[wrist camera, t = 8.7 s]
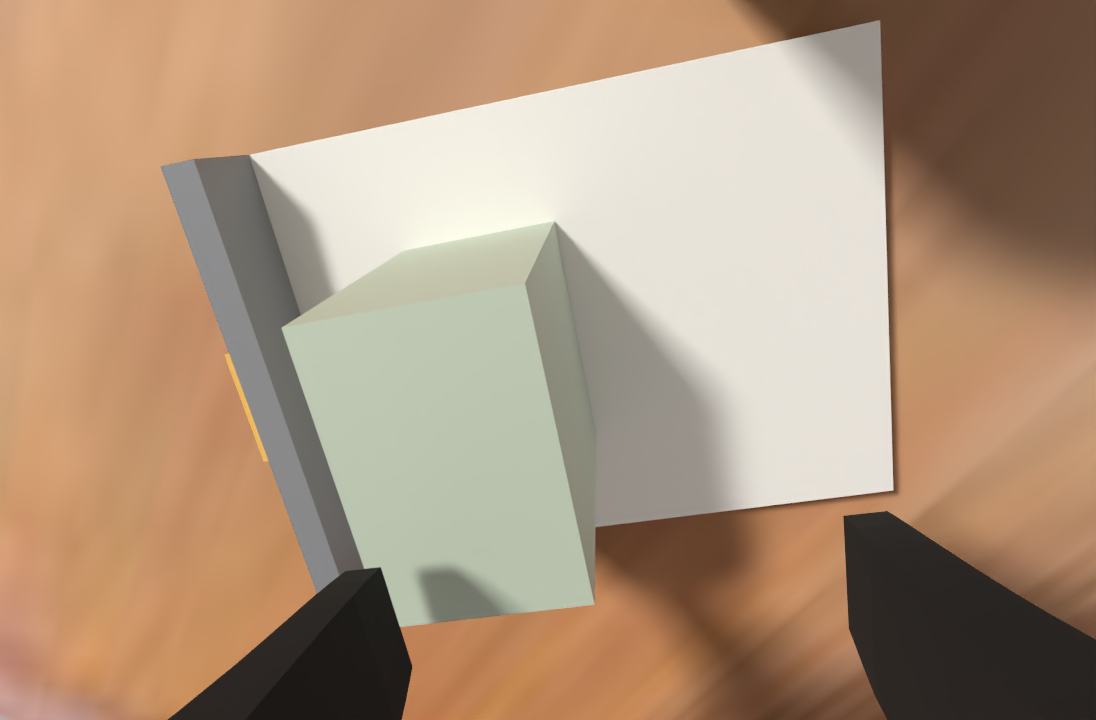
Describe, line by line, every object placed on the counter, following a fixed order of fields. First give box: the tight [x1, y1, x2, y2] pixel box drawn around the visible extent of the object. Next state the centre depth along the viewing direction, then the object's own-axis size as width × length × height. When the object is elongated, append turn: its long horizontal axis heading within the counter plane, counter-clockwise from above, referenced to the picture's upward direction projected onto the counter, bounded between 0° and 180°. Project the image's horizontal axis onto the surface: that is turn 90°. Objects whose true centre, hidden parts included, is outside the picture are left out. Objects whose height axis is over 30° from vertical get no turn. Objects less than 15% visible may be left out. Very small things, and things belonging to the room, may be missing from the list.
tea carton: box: [281, 221, 596, 627], centre depth 14 cm, size 4×6×7 cm
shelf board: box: [161, 20, 893, 593], centre depth 17 cm, size 16×12×3 cm
